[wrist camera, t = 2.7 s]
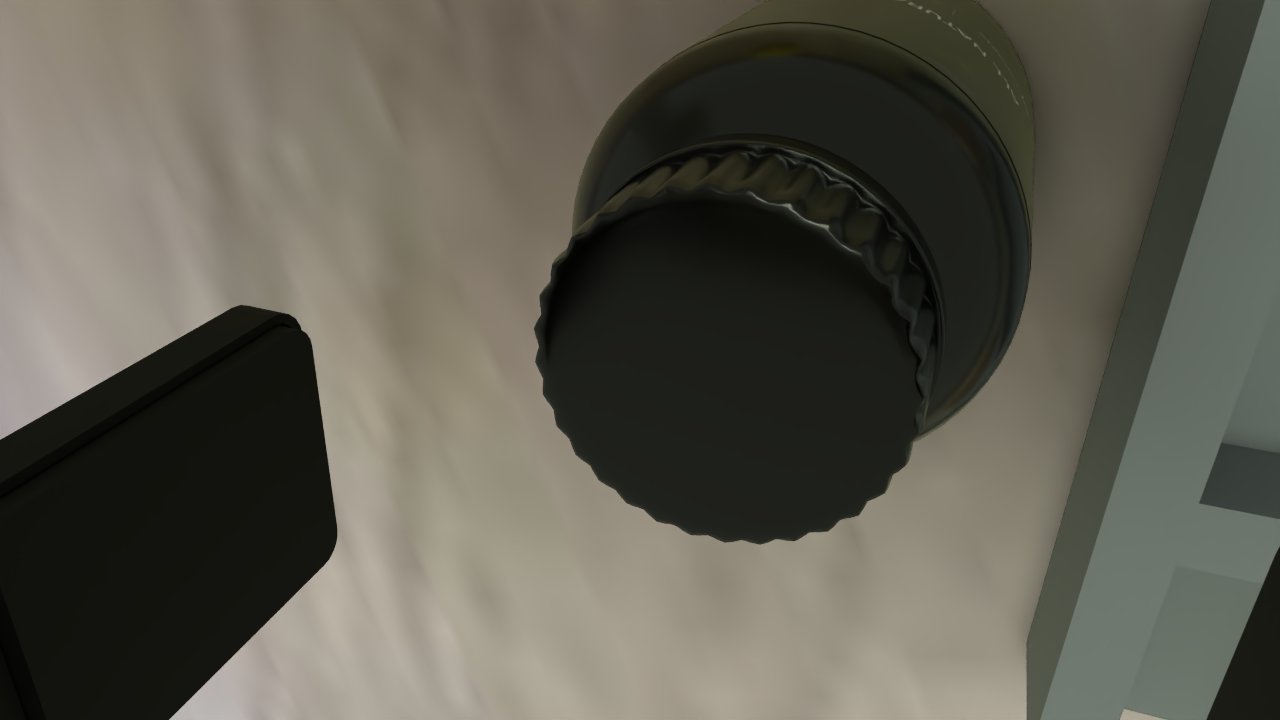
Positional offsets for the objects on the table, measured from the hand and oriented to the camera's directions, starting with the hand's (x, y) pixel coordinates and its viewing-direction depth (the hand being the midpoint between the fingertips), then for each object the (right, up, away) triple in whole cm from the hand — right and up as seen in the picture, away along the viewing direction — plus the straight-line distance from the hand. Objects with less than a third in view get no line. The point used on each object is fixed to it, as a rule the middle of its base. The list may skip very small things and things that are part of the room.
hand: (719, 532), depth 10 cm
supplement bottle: (+4, +7, +12) cm, 14 cm away
